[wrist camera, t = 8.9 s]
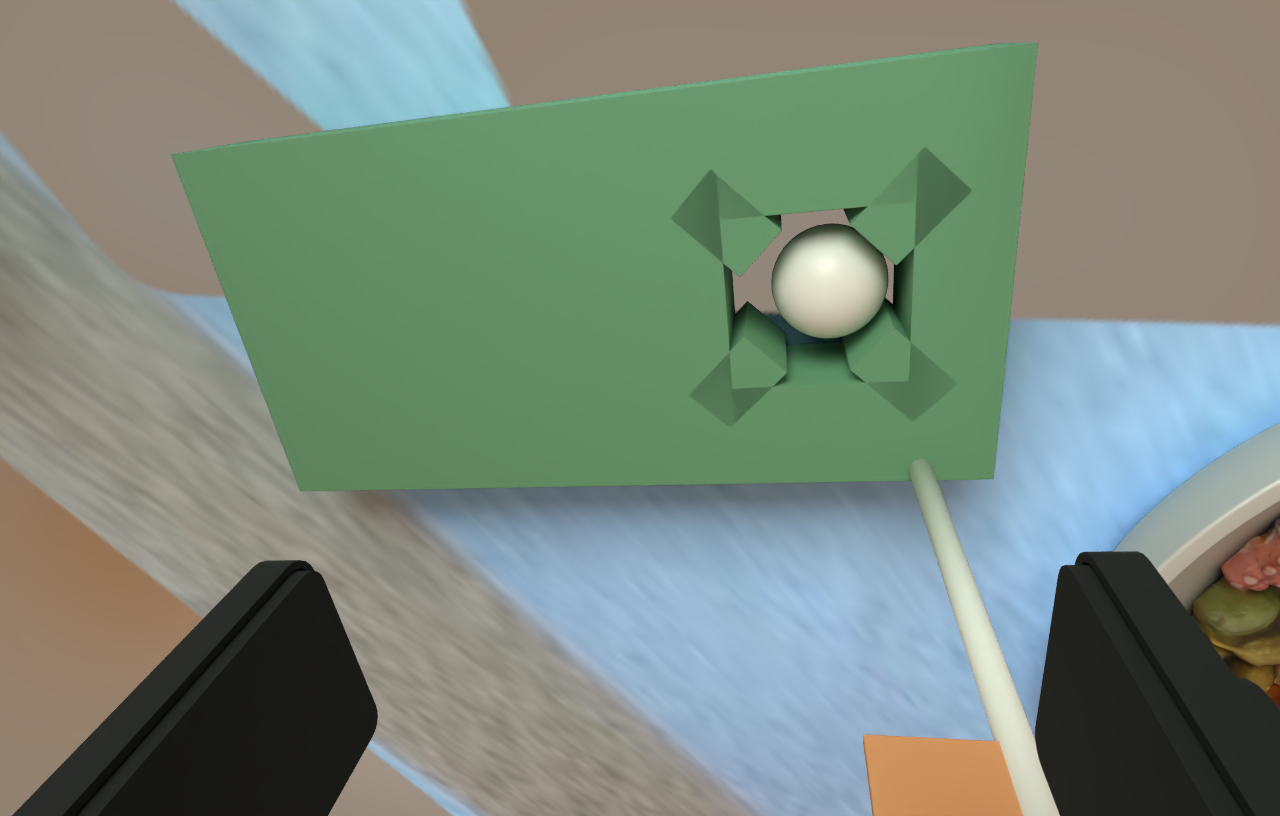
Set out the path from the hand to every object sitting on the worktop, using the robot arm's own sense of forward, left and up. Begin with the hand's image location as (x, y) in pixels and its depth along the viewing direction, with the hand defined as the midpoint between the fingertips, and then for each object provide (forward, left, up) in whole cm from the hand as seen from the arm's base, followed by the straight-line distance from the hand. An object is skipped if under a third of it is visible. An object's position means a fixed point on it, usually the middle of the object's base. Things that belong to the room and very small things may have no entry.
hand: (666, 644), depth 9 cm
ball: (+1, +3, -19) cm, 19 cm away
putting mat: (+1, -5, -21) cm, 21 cm away
